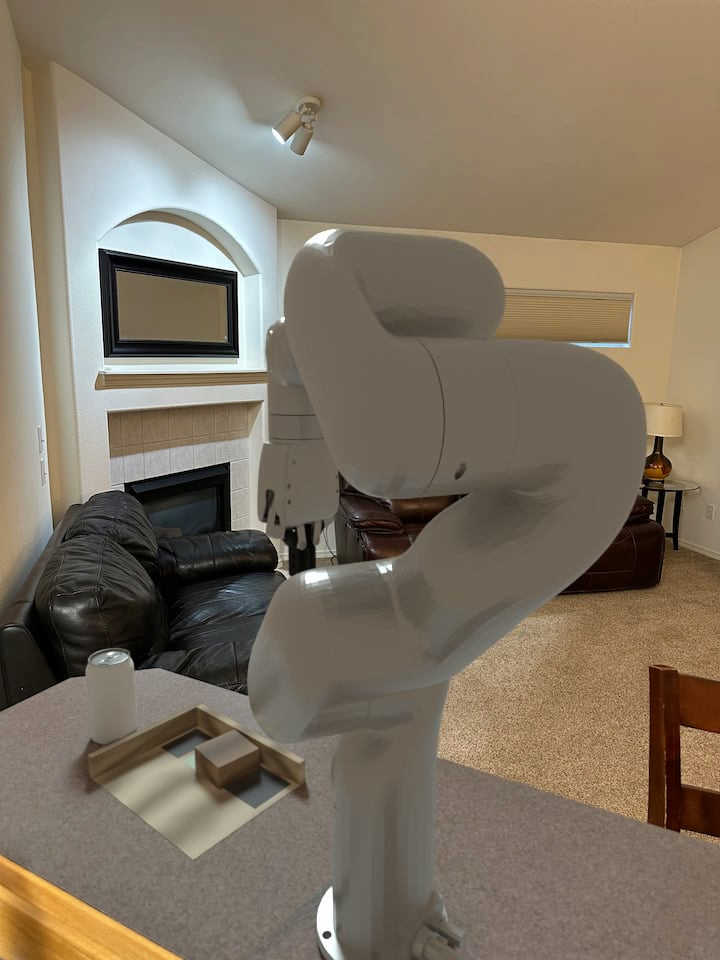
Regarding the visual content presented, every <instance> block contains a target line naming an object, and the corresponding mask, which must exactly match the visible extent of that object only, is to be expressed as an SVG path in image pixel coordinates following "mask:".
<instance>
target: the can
mask: <svg viewBox="0 0 720 960" xmlns="http://www.w3.org/2000/svg"><path fill="white" fill-rule="evenodd" d="M130 655H131V652H130V651H129V650H127V649H126V648H125V649H124V648H119V647H115V648H106V649H102V650H99V651H96V652H94V653H92V654H90V656H89V657H88V658H87V666H86V669H85V683H86V684H85V686H86V698H87V708H88V709H87V711H88V722H89V733H90V738H91V740H92V741H93V742H95V743H96V744H98V745H101V746H107V745H109V744H111V742H112V743H113V742H115V741H117V739H118V740H120V739H122V738H124V737H126V736H128V735H130V734H132V733H134V732H136V731H138V729H139V728H138V708H137V693H136V692H137V691H136V679H135V666H134V660H133V659H132V657H131V656H130Z"/></svg>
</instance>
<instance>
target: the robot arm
mask: <svg viewBox="0 0 720 960" xmlns="http://www.w3.org/2000/svg"><path fill="white" fill-rule="evenodd" d="M505 288H506V287H505V284H504V280H503V278H502V276H501V274H500V272H499V270H498V268H497V267H496V266H495V263H494V262H492V260H491V259H490V258H489V257H488V256H487V255H486V254H484V253H483V252H482V251H480V250H479V249H478V248H477V247H474V246H473V245H471V244H469V243H467V242H463V241H461V240H458V239H454V238H449V237H442V236H437V235H422V234H407V233H396V232H395V233H393V232H384V231H383V232H382V231H376V230H375V231H374V230H361V229H351V228H337V229H335V228H334V229H328V230H326V231H322V232H320V233H317V234H316V235H314V236H313V237H311V238H310V239H309V240H307V241H306V242H304V244H303V245H302V246H301V248H300V249H299V250H298V252H297V253H296V255H295V256H294V259H293V260H292V262H291V265H290V267H289V270H288V272H287V276H286V281H285V286H284V290H283V291H284V292H283V302H282V303H283V316H282V317H280V318H278V319H276V321H275V323H273V324H271V325H270V326H269V327H268V329H267V331H266V337H265V339H266V340H265V350H264V351H265V352H264V353H265V362H266V386H267V388H266V389H267V391H266V393H267V429H268V430H267V431H268V435H267V436H268V441H263V442H262V443H263V444H262V449H261V453H260V459H259V464H258V477H257V493H256V494H257V495H256V496H257V499H256V500H257V501H256V503H257V504H256V505H257V506H256V507H257V511H256V512H257V518H258V521H259V522H261V523H262V524H263V523H264V524H266V526H265V527H266V528H265V537H267V538H271V539H276V540H278V539H279V540H282V542H283V544H284V546H285V547H287V553H288V554H287V557H288V559H287V561H288V575H289V576H290V577H288V578H287V579H285V580H284V581H283V582H282V583H281V584H280V585H279V586H278V588H277V589H276V591H275V593H274V594H273V597H272V598H271V601H270V603H269V605H268V608H267V610H266V612H265V615H264V618H263V620H262V623H261V625H260V628H259V629H258V632H257V634H256V638H255V640H254V642H253V645H252V649H251V650H250V651H251V653H250V656H249V661H248V667H247V668H248V669H247V679H246V681H247V683H246V685H247V696H248V701H249V705H250V709H251V712H252V715H253V717H254V719H255V722H256V724H257V725H258V726H259V728H260V729H261V731H262V732H263V733H264V734H265V735H266V736H267V737H269V738H270V739H271V740H273V741H275V742H277V743H280V744H287V745H289V744H290V745H291V744H298V743H302V742H308V741H313V740H318V739H323V738H328V737H333V736H336V735H339V736H338V738H337V741H336V744H335V747H334V750H333V755H332V758H331V759H332V760H331V774H330V775H331V776H330V777H331V780H330V781H331V782H330V783H331V788H330V790H331V793H330V794H331V795H330V796H331V798H330V799H331V802H330V803H331V804H330V805H331V886H330V887H329V888H328V889H327V890H326V891H325V893H324V894H323V896H322V898H321V899H320V903H319V905H318V907H317V910H316V916H315V917H316V918H315V935H316V940H317V941H316V942H317V945H318V947H319V949H320V952H321V954H322V956H323V957H324V959H325V960H467V958H466V957H465V956H464V955H462V954H461V953H459V952H458V951H457V950H455V949H454V948H452V947H451V946H449V945H448V943H450V944H452V945H453V946H455V948H457V949H459V950H462V949H464V947H465V945H466V943H467V939H468V933H467V932H465V930H462V929H461V928H460V927H458V925H457V926H456V925H455V924H452V923H450V921H449V915H448V914H449V913H448V911H447V908H446V907H445V904H444V903H445V902H444V894H442V893H440V892H439V891H437V890H436V889H434V879H435V877H434V874H435V873H434V868H435V831H436V828H435V826H436V789H437V771H438V770H437V767H438V766H437V765H438V747H439V737H440V730H441V729H440V728H441V723H442V717H443V713H444V708H445V704H446V700H447V696H448V693H449V687H450V684H451V683H450V682H451V678H453V677H455V676H457V675H458V674H459V673H461V672H462V671H463V670H465V669H466V668H467V667H469V666H470V665H471V664H472V663H473V662H474V661H476V660H477V659H478V658H479V657H481V656H482V655H483V654H484V653H485V652H487V651H488V650H489V649H491V648H492V647H493V646H495V645H496V644H497V643H498V642H499V641H501V640H502V639H503V638H504V637H506V636H507V635H508V634H510V632H512V631H513V630H514V629H515V628H516V627H517V626H518V625H519V624H520V623H521V622H523V621H524V620H525V619H527V618H528V617H529V616H530V615H532V614H533V613H535V612H536V611H537V610H538V609H540V608H541V607H542V606H544V605H545V604H546V603H548V602H549V601H551V600H552V599H553V598H555V597H556V596H557V595H558V594H560V593H561V592H562V591H564V590H565V589H566V588H568V587H569V586H570V585H572V584H573V583H574V582H576V580H577V579H579V577H581V576H582V575H583V574H584V573H586V572H587V570H589V569H590V567H592V566H593V565H594V564H595V563H596V562H597V561H598V560H599V559H600V557H601V556H602V555H603V554H604V553H605V552H606V550H608V549H609V547H610V546H611V544H612V543H613V542H614V540H615V539H616V538H617V537H618V535H619V533H620V532H621V530H622V529H623V527H624V525H625V523H626V522H627V520H628V518H629V516H630V514H631V512H632V510H633V508H634V505H635V503H636V499H637V496H638V495H639V491H640V489H641V485H642V480H643V477H644V472H645V468H646V461H647V451H648V426H647V425H648V424H647V415H646V413H647V411H646V409H645V405H644V402H643V398H642V395H641V392H640V391H639V388H638V387H637V384H636V383H635V381H634V379H633V378H632V376H631V375H630V374H629V373H628V371H626V370H625V368H624V367H623V366H622V365H620V364H619V363H618V362H616V361H615V360H613V359H612V358H610V357H609V356H607V355H606V354H603V353H601V352H599V351H596V350H593V349H591V348H590V347H586V346H582V345H578V344H573V343H569V342H565V341H556V340H550V339H547V340H546V339H535V338H534V339H532V338H531V339H530V338H507V337H506V338H504V337H503V338H499V337H494V336H495V335H496V333H497V331H498V330H499V328H500V325H501V323H502V321H503V318H504V316H505V310H506V301H507V300H506V297H507V295H506V289H505ZM339 473H340V475H341V476H342V477H343V478H344V480H345V481H346V482H347V483H348V484H349V485H350V486H352V487H353V488H355V490H357V491H358V492H360V493H363V494H365V495H366V496H371V497H373V498H378V499H379V498H380V499H387V500H388V499H391V500H392V499H393V500H397V499H398V500H399V499H400V500H403V499H404V500H406V499H416V498H417V499H418V498H427V497H428V498H430V497H440V496H442V497H443V496H451V495H452V496H453V495H454V496H455V495H465V494H466V495H465V496H464V497H462V498H461V499H459V500H457V501H455V502H454V503H452V504H451V505H449V506H448V507H446V508H444V509H443V510H442V511H441V512H439V513H438V514H437V515H435V516H434V517H433V518H432V519H431V520H430V521H429V522H428V523H427V524H426V525H425V526H424V528H423V529H422V530H421V532H419V534H418V535H417V537H416V539H415V540H414V542H413V543H412V544H411V545H410V547H409V548H408V549H406V551H404V553H401V554H400V555H398V556H394V557H393V556H392V557H389V558H383V559H382V558H381V559H375V560H369V561H368V560H367V561H361V562H352V563H345V564H336V565H329V566H321V567H317V546H318V545H319V544H320V542H321V534H322V533H323V531H324V529H325V528H326V527H329V526H330V525H331V524H333V523H334V522H335V514H336V513H337V512H338V511H339V504H340V480H339V478H340V477H339Z"/></svg>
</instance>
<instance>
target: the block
mask: <svg viewBox="0 0 720 960" xmlns="http://www.w3.org/2000/svg"><path fill="white" fill-rule="evenodd" d="M194 749H195V768H196V769H197V770H198V771H199V772H201V773H202V774H203V775H204V776H205V777H206V778H207V779H208V780H209V781H210V782H211V783H212V784H213V785H215V786H216V787H217V788H218V789H219V790H220V789H222V788H224V787H226V786H228V785H230V784H232V783H234V782H236V781H238V780H240V779H242V778H244V777H246V776H248V775H250V774H252V773H254V772H256V771H258V770H260V758H259V748H258V747H257V746H255V745H254V744H253V743H251V742H250V741H249V740H248V739H246V738H245V737H244V736H242V735H241V734H240V733H238V732H237V731H236V730H235V729H234V730H232V731H229V732H227V733H225V734H223V735H220V736H218V737H216V738H213V739H211V740H209V741H207V742H204V743H202V744H200V745H197V746H195V747H194Z"/></svg>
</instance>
